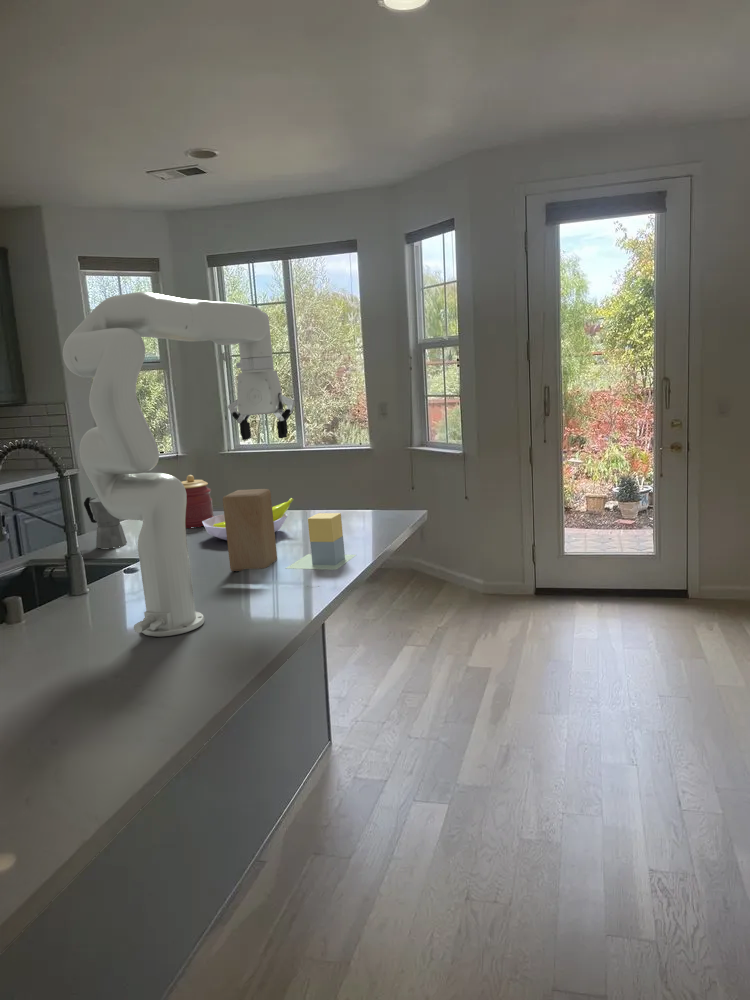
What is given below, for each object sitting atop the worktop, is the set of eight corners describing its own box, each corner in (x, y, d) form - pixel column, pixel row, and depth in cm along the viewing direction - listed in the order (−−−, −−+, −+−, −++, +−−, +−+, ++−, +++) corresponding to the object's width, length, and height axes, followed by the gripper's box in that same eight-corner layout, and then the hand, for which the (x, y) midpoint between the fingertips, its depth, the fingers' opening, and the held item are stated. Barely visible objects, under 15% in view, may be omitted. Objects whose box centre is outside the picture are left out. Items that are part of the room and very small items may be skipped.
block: (266, 572, 187) (258, 494, 184) (229, 572, 189) (220, 496, 186) (278, 561, 197) (271, 488, 193) (243, 562, 199) (235, 489, 195)
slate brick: (335, 565, 185) (333, 541, 184) (312, 564, 187) (310, 541, 186) (345, 558, 191) (343, 535, 190) (322, 558, 193) (320, 535, 192)
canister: (222, 522, 258) (217, 472, 255) (195, 530, 247) (189, 478, 244) (196, 520, 265) (190, 471, 262) (168, 528, 254) (162, 477, 251)
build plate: (336, 573, 181) (336, 569, 181) (285, 572, 185) (285, 568, 185) (356, 558, 194) (356, 554, 194) (308, 557, 198) (308, 554, 198)
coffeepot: (138, 542, 234) (131, 487, 231) (117, 550, 225) (109, 492, 222) (101, 541, 240) (93, 487, 237) (79, 548, 232) (71, 492, 228)
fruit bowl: (187, 546, 223) (183, 510, 221) (231, 526, 248) (228, 493, 246) (270, 547, 214) (267, 509, 212) (308, 526, 239) (304, 492, 237)
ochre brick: (333, 541, 184) (331, 518, 183) (309, 541, 186) (307, 518, 185) (342, 535, 190) (340, 513, 188) (320, 535, 192) (318, 513, 191)
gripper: (216, 368, 172) (224, 441, 175) (283, 363, 166) (290, 438, 169) (233, 368, 179) (240, 438, 182) (297, 362, 173) (304, 435, 176)
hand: (264, 438), depth 176 cm, fingers open, 9 cm apart
